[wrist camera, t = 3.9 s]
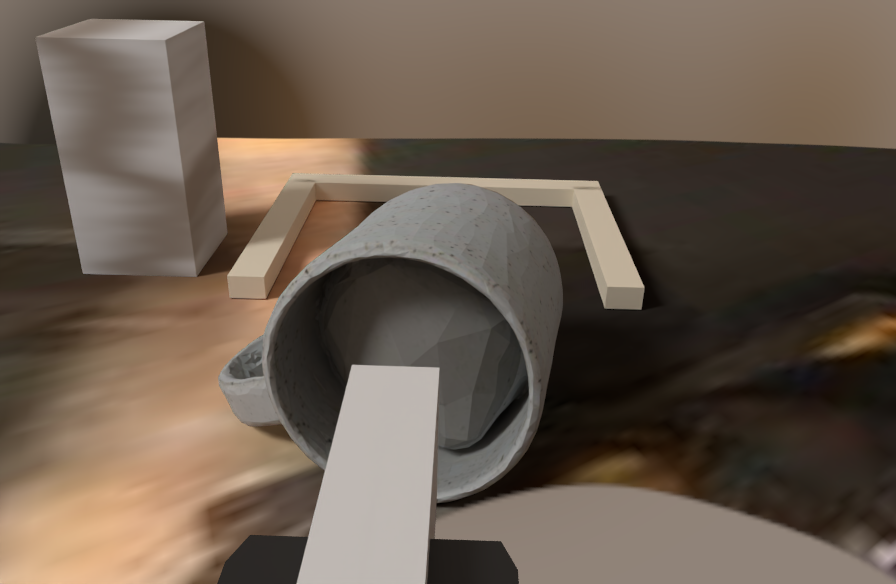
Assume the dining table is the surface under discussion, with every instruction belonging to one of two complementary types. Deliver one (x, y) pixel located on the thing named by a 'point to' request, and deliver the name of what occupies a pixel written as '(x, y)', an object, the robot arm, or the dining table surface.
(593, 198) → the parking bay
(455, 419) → the ceramic mug
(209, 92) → the grey block
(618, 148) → the dining table surface
